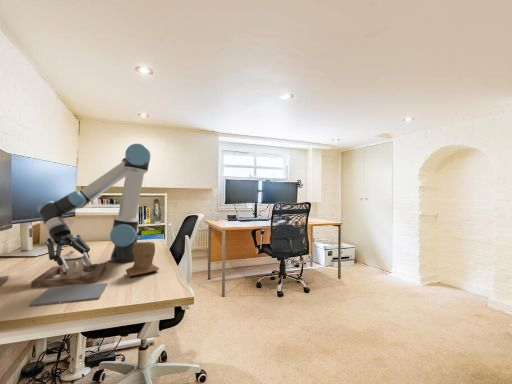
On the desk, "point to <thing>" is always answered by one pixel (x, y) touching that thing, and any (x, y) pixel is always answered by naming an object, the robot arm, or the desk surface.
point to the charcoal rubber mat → (70, 294)
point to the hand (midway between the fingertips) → (78, 267)
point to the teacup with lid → (73, 264)
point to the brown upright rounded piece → (142, 258)
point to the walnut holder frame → (48, 279)
